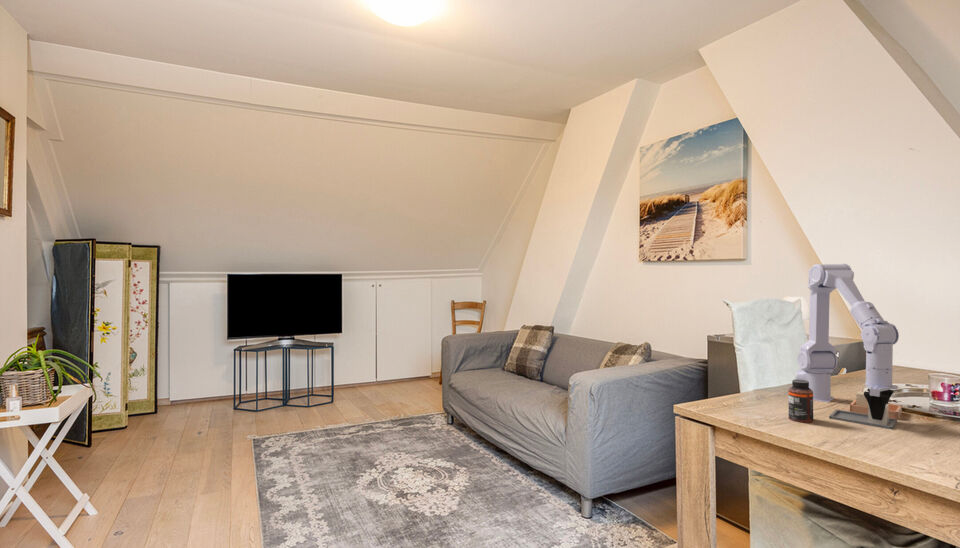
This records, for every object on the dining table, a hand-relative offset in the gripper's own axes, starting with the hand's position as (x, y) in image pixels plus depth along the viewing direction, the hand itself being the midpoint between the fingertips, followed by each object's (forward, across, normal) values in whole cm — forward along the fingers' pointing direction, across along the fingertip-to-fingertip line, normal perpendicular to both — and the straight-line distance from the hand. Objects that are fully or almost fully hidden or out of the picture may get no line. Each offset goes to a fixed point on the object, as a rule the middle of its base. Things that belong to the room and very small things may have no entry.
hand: (878, 417), depth 142 cm
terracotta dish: (+2, +11, +2) cm, 11 cm away
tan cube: (+1, +11, +4) cm, 12 cm away
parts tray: (+2, 0, +4) cm, 4 cm away
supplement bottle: (+2, -11, +16) cm, 20 cm away
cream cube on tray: (+1, 0, 0) cm, 1 cm away
